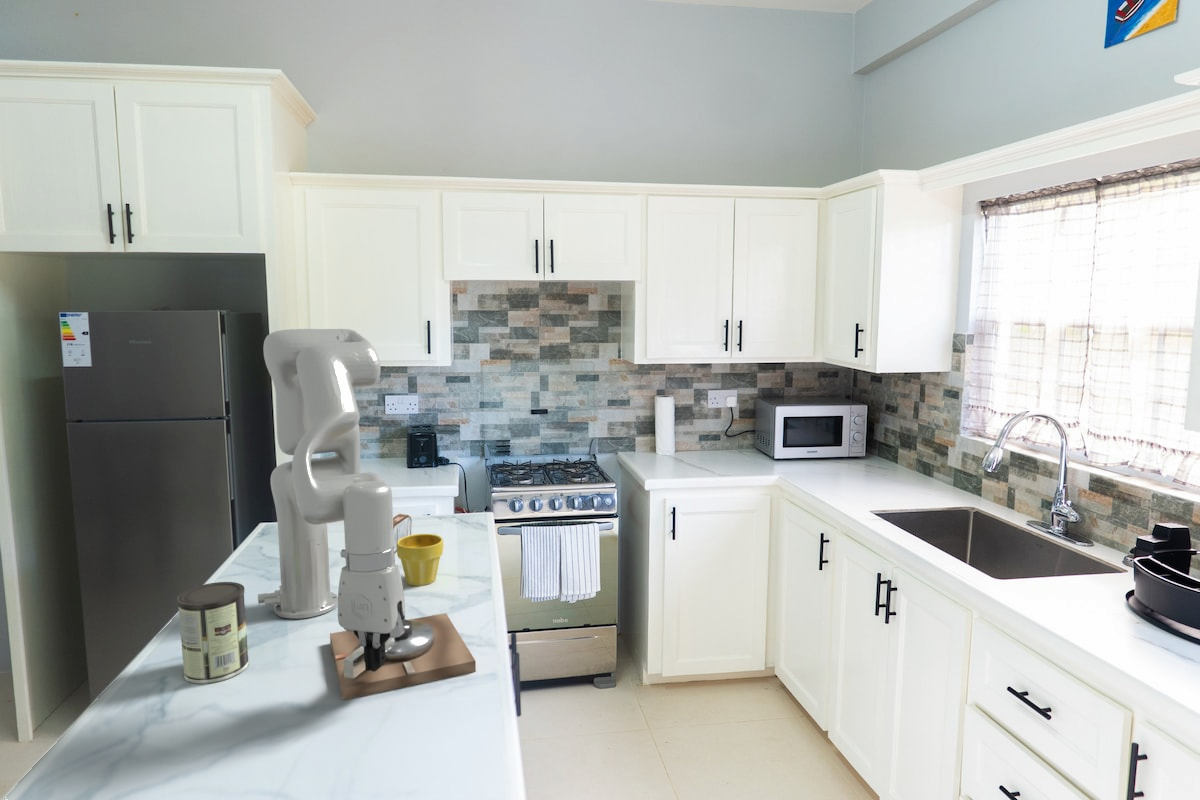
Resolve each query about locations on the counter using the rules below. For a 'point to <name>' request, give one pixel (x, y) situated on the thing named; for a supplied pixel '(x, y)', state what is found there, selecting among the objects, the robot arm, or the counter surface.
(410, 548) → the plant pot
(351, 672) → the dial
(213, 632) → the coffee can
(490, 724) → the counter surface
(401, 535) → the tin
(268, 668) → the counter surface
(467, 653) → the dial board
